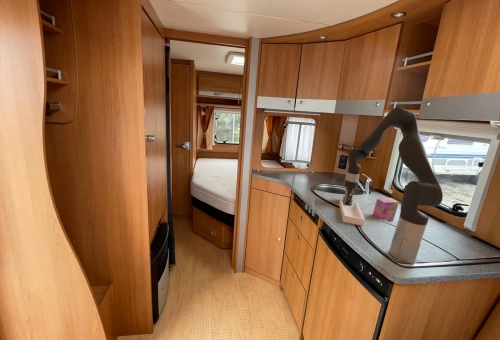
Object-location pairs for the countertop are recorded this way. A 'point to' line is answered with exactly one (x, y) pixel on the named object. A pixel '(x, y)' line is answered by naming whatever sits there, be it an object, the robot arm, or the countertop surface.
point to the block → (345, 200)
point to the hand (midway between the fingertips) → (346, 204)
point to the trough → (351, 214)
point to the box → (385, 208)
